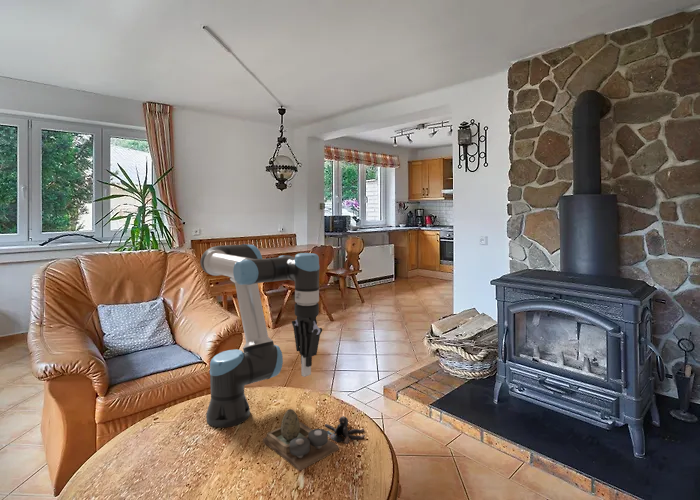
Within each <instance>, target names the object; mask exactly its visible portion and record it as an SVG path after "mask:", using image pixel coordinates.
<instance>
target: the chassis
mask: <svg viewBox="0 0 700 500" xmlns="http://www.w3.org/2000/svg"><path fill="white" fill-rule="evenodd" d="M299 424H300V431H299V435H298V436H297V438H295V439H293V440H291V441H287V440H286V439H284V438H283V436H282V433H281V426H280V427H278V428H276V429H274V430H272V431H269V432H267V433H266V436H265V437H263V438H262V443H264V444H265V445H266V446H268V448H270V449H271V450H272V451H274V452H275V453H276V454H277V455H279V456H280V457H282V458H283V459H284V460H286V461H287V462H288V463H289V464H291V465H292V466H293V467H294V468H296V470H298V471H302V470H304V469H306V468H308V467H309V466H311V465H313V464H315V463H317V462H318V461H320V460H322V459H324V458H325V457H327V456H330V455H331V454H333V453H335V452H337V451H339V450H340V446H339V445H338V444H336V442H333V440H330V439H329V438H328V442H327V443H326V444H325V445H322V446H312V445H310V441H309V440H308V434H309V432H310V431H312V430H314V429H313V428H311V427H309V426H308V425H306V424H304V423H303V422H301V421H299Z"/></svg>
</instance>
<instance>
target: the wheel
mask: <svg viewBox="0 0 700 500" xmlns="http://www.w3.org/2000/svg"><path fill="white" fill-rule="evenodd" d="M327 431H328V430H326V429H323V428H315V429H313V430H312V431H310V432H309V434H308V440H309V441H310V445H312V446H322V445H325V444H326V443H327V442H328V439H329V436H328V432H327Z"/></svg>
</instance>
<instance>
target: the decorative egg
mask: <svg viewBox="0 0 700 500" xmlns="http://www.w3.org/2000/svg"><path fill="white" fill-rule="evenodd" d="M299 422H300V420H299V418H298V415H297V412H295V410H294V409H291V408H290V409H287V410H286V411H285V413H284V415H283V417H282V419H281V424H280V425H281V426H280V427H281V433H282V436H283V438H284V439H286V440H287V441H291V440H293V439H295V438H297V436H298V435H299V431H300V424H299Z"/></svg>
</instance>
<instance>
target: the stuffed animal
mask: <svg viewBox="0 0 700 500" xmlns="http://www.w3.org/2000/svg"><path fill="white" fill-rule="evenodd" d="M338 422H339V423H338V424H337V426H336V427H333V426H332V425H331V424H327V423H325V424H324V427H325V428H327V429H329V430H326V431H327V432H328V438H330V439H331V441H334V443H344V444H346V445H347V444H348V443H350V441H356V440H359V441H361V440H363V439H364V438H365V437H366V435H365V434H361V433H362V432H364V430H365V428H363V427H362V428H361V429H359V428H352V429H350V430H349V429H348V426H349V419H348V417H346V416H344V415H342V416H341V417H340V418H339V419H338ZM330 430H331V431H330ZM332 431H333V432H332ZM354 434H361V435H354Z"/></svg>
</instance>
